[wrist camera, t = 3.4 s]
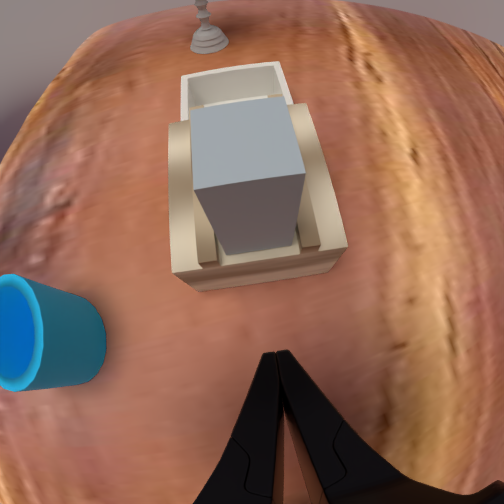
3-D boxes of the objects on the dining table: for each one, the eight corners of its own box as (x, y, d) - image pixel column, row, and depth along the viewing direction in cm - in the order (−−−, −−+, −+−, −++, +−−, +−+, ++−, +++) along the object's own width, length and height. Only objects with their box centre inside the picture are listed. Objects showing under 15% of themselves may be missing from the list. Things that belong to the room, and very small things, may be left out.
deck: (327, 272, 23) (353, 239, 15) (198, 291, 23) (165, 268, 16) (299, 152, 26) (307, 91, 19) (189, 169, 26) (164, 113, 19)
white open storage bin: (295, 153, 26) (299, 121, 22) (193, 168, 26) (180, 138, 22) (278, 93, 28) (278, 61, 24) (191, 106, 28) (181, 76, 24)
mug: (111, 300, 23) (51, 280, 15) (103, 394, 21) (42, 408, 13) (22, 284, 24) (-34, 264, 16) (14, 361, 22) (-44, 357, 14)
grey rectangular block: (291, 245, 16) (305, 173, 9) (226, 255, 17) (193, 189, 9) (280, 187, 18) (283, 96, 10) (219, 196, 18) (190, 110, 10)
